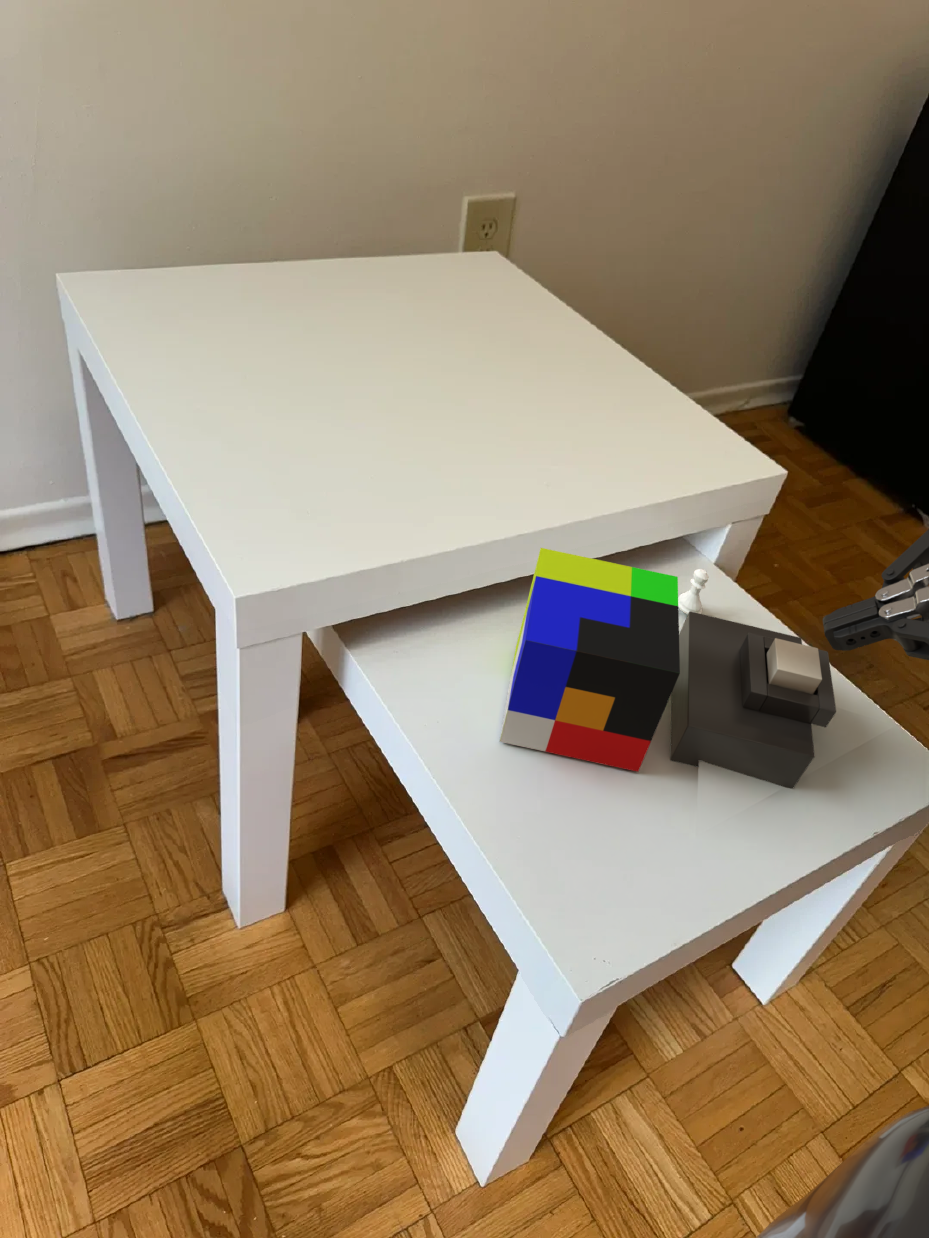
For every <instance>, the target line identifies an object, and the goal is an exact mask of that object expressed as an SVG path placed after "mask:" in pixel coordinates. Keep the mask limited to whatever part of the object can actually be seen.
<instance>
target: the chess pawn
mask: <svg viewBox="0 0 929 1238" xmlns="http://www.w3.org/2000/svg"><path fill="white" fill-rule="evenodd" d="M709 578H710V576H709V574H708V572H707V571H706V569H703V568H697V569H695V570H694V572H693V576H692V578H691V579H690V583H691V587H690V589H689V590H687V591H684V592H682V593H681V594H679V595H678V609H679V610H680V611H681V612H683V613H684V614H686V615H688V613H689V612H690V611H691V612H695V613H699V614H703V608H702V607H703V605H702V601H701V597H700V593H701V591H702V590H704V589H706V583H708V581H709Z"/></svg>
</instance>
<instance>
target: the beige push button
mask: <svg viewBox="0 0 929 1238" xmlns="http://www.w3.org/2000/svg"><path fill="white" fill-rule="evenodd" d="M818 649H819V648H818V647H814V646H810V645H806V644H803V643H802V644H798V643H794V642H789V641H785V640H781V639H777V638H775V639H774V641H773V643H772V645H771V647H770V649H769V650H768V652H767V654H766V655H767V669H768V683H769V684H771V685H776V686H780V687H784V688H788V689H792V690H796V691H801V692H805V693H809V694H813V693H814V692H815V690H816V688H817V687H818V685H819V684H820V682H821V681H822V675H821V667H820V660H819V652H818Z"/></svg>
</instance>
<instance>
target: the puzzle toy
mask: <svg viewBox="0 0 929 1238" xmlns="http://www.w3.org/2000/svg"><path fill="white" fill-rule="evenodd" d="M678 597H679V576H676V575H672V574H667V573H663V572H657V571H652V570H648V569H643V568H638V567H634V566H629V565H624V564H620V563H615V562H610V561H605V560H601V559H596V558H591V557H586V556H582V555H577V554H574V553H573V554H572V553H568V552H564V551H559V550H555V549H549V548H544V547H540V549H539V553H538V557H537V560H536V564H535V569H534V572H533V577H532V580H531V584H530V588H529V592H528V597H527V601H526V605H525V609H524V613H523V617H522V620H521V621H522V622H521V625H520V629H519V633H518V637H517V641H516V645H515V649H514V656H513V661H512V667H511V672H510V679H509V684H508V691H507V696H506V702H505V707H504V714H503V719H502V723H501V724H502V725H501V729H500V737H499V742H500V743H503V744H504V743H505V744H508V745H512V746H518V747H523V748H527V749H532V750H536V751H541V752H545V753H549V754H555V755H560V756H564V757H569V758H574V759H576V760H577V759H578V760H582V761H588V762H592V763H596V764H599V765H604V766H605V765H606V766H609V767H615V768H619V769H624V770H629V771H633V772H636V773H639V771H640V768H641V767H642V764H643V761H644V759H645V757H646V754H647V752H648V750H649V747H650V745H651V743H652V740H653V738H654V736H655V733H656V731H657V728H658V726H659V724H660V721H661V719H662V717H663V714H664V713H665V709H666V707H667V705H668V703H669V700H670V698H671V696H672V691H673V688H674V686H675V684H676V681H677V679H678V677H679V674H680V654H679V633H680V616H679V615H680V613H679V610H680V609H679V607H678Z"/></svg>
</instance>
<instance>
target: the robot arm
mask: <svg viewBox="0 0 929 1238" xmlns="http://www.w3.org/2000/svg"><path fill="white" fill-rule="evenodd" d="M907 574H908V576H907ZM905 576H907V577H906V578H905ZM881 578H882V580H883V583H882V586H881V588H880V589H878V590H877V591H876V593H875V595H874V596H872V597H869V598H866V599H863V600H860V601H857V602H853V603H852V604H848V605H846V606H843V607H840V608H837V609H835V610H833V611H832V612H830V613H829V614H826V615H824V616H823V618H822V627H823V633H824V637H825V638H826V640H827V642H828V643H829V645H830V646H831V648H832V649H833V650H834V651H843V652H845V651H846V652H847V651H852V650H855V649H856V650H857V649H858V648H862V647H864V646H869V645H871V644H875V643H878V642H882V641H885V640H894V641H895V642H897V643H898V644H899V645H900V646H901V647H902V648H903V650H904V652H905V654H906V655H907V656H908V657H912V658H916V659H921V660H926V661H929V528H928V529H927V530H926V531H925V532H924V533H923V534H921V536H920V537H918V539H916V540H915V541H914V542H913V543H912V544H911V545H910V546H909V547H908V548H907V549H906V550H904V552H902V553H901V554H900V555H899V556H898V557H897V558H896V559H894V561H893V562H892V563H891V564H889V565H888V566H887V567H886V568H885V569H884V570H883V572H882V573H881ZM920 616H921V617H920ZM755 1238H929V1104H928V1105H925V1106H922V1107H919V1108H915V1109H913V1110H910V1111H908V1112H906V1113H905V1114H903V1115H901V1116H899V1117H897V1118H895V1119H893V1120H892V1121H891V1122H889V1123H887V1124H885V1125H884V1126H883V1127H881V1128H880V1129H879V1130H878V1131H877V1132H875V1133H874V1134H873V1135H872V1136H870V1137H868V1138H867V1140H865V1141H864V1142H863V1143H861V1144H860V1145H859V1146H858V1147H857V1148H856V1149H855V1150H854V1151H853V1152H852V1153H851V1154H849V1155H848V1157H846V1158H845V1159H844V1160H843V1161H841V1162H840V1163H839V1165H837V1166H836V1168H834V1170H832V1172H830V1173H828V1175H827V1176H826V1177H824V1178H823V1180H822V1181H820V1182H819V1183H818V1184H817V1185H816V1186H815V1187H813V1188H812V1189H811V1190H810V1191H809V1192H808V1193H806V1194H805V1195H804V1196H803V1197H802V1198H800V1199H799V1200H797V1201H796V1202H795V1203H794V1204H792V1205H791V1206H790V1207H788V1208H787V1209H786V1210H784V1211H783V1212H782V1213H780V1214H779V1215H778V1216H777V1217H776V1218H775V1219H774V1220H772V1221H771V1222H770V1223H769V1224H768V1225H767V1226H766V1227H765V1228H764V1229H763V1230H762V1231H761V1232H760V1233H759V1234H758V1235H757V1236H756V1237H755Z"/></svg>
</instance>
